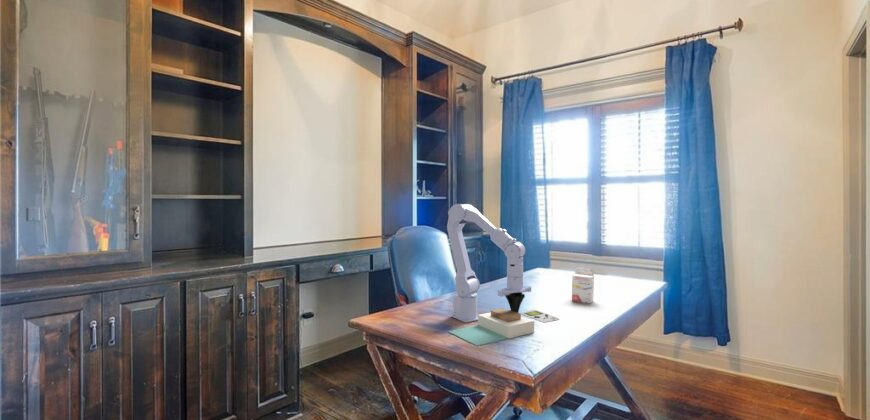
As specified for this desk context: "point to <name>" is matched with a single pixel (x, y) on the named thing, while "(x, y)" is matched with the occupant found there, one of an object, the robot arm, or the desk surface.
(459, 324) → the desk surface
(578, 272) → the ink cartridge box
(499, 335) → the mat
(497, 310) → the block
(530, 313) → the handheld gaming device
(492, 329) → the cream white board
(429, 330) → the desk surface
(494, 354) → the desk surface
